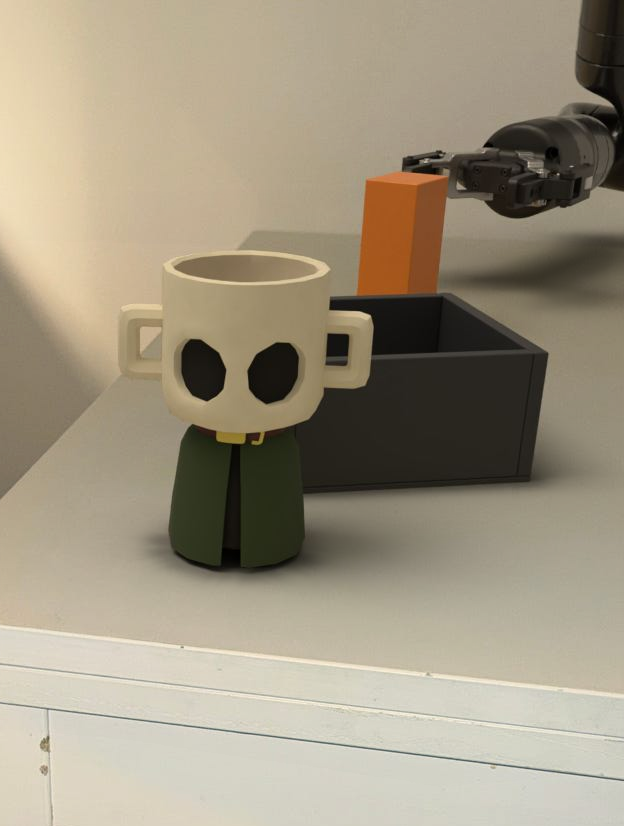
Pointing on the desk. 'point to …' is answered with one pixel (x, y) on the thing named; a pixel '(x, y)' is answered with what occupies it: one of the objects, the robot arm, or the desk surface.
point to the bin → (426, 401)
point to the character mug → (242, 391)
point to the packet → (402, 233)
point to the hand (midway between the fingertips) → (457, 188)
